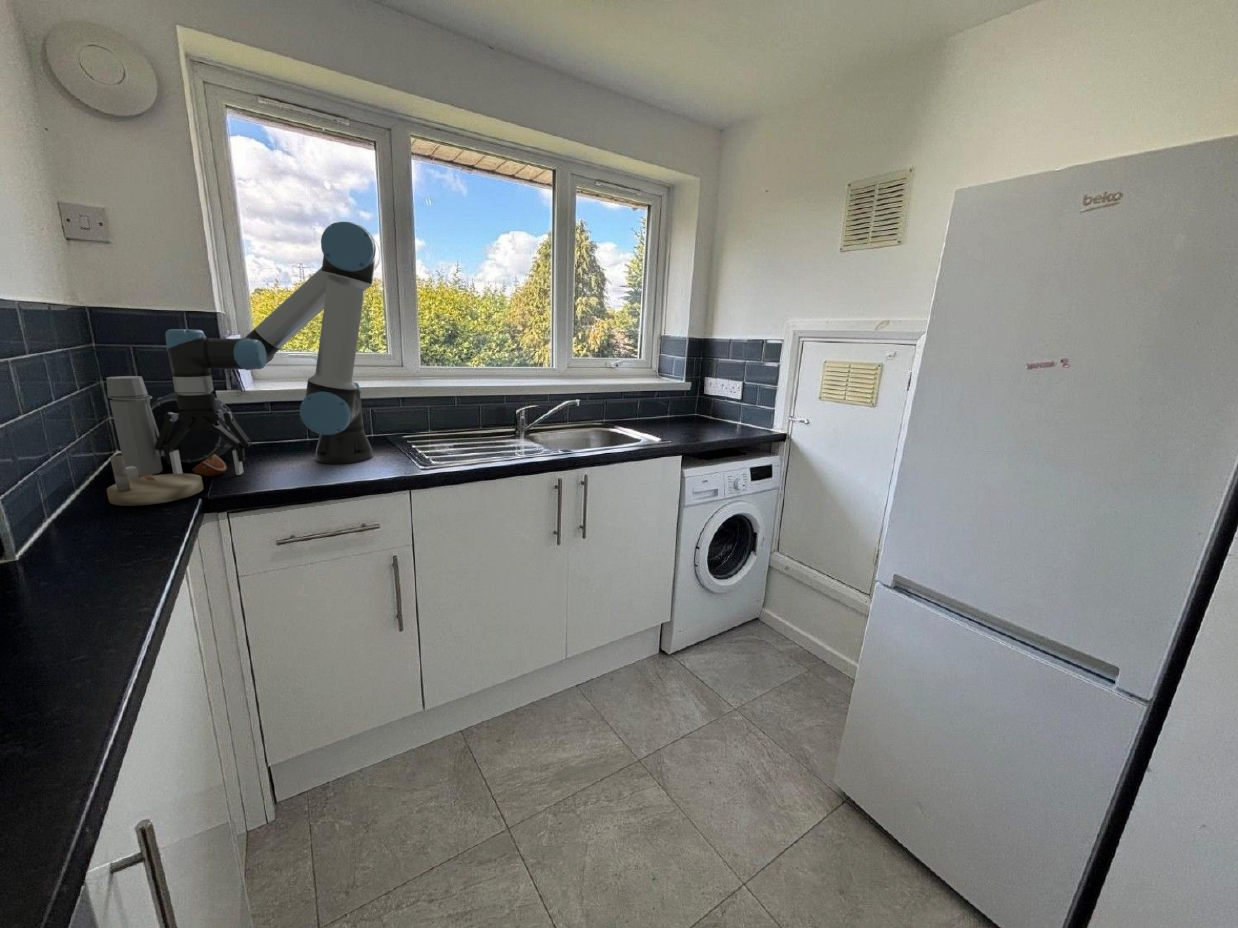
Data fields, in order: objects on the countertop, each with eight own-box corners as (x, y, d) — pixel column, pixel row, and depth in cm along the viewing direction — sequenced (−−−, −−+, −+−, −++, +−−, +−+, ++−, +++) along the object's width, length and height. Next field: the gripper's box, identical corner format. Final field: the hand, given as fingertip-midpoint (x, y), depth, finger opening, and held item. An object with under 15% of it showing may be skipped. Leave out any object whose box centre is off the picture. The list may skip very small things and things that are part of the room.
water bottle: (116, 478, 129) (93, 378, 122) (142, 470, 136) (122, 375, 130) (156, 478, 130) (135, 379, 123) (179, 470, 137) (160, 376, 131)
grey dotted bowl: (231, 465, 144) (219, 393, 139) (144, 468, 138) (128, 394, 133) (246, 456, 154) (235, 389, 148) (165, 459, 148) (151, 389, 143)
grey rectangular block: (141, 487, 123) (137, 467, 121) (127, 490, 120) (123, 469, 119) (136, 485, 124) (132, 466, 122) (123, 488, 122) (118, 468, 120)
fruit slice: (219, 479, 131) (216, 460, 129) (187, 481, 129) (184, 462, 127) (231, 471, 138) (228, 453, 137) (202, 472, 136) (198, 454, 135)
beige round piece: (164, 479, 126) (156, 439, 124) (220, 488, 121) (213, 446, 118) (82, 498, 111) (71, 454, 109) (141, 509, 106) (131, 463, 104)
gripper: (258, 391, 135) (269, 468, 140) (143, 391, 128) (159, 473, 133) (247, 394, 128) (259, 476, 133) (124, 395, 121) (143, 481, 126)
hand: (209, 475), depth 133 cm, fingers open, 13 cm apart
